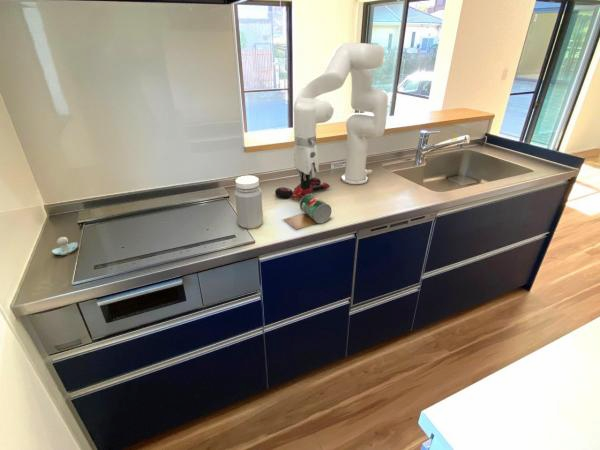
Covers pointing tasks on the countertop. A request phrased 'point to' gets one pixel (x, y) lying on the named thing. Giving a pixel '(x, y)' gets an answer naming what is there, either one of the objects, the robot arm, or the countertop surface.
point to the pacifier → (64, 247)
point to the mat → (300, 221)
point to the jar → (248, 202)
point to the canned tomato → (315, 208)
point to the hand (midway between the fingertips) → (305, 188)
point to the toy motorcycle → (299, 192)
